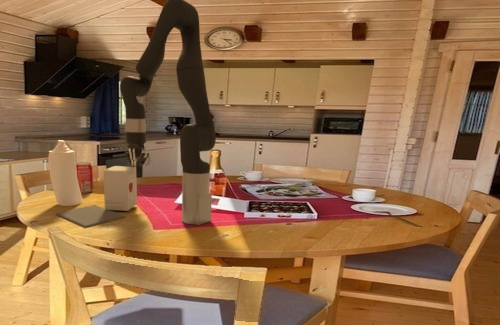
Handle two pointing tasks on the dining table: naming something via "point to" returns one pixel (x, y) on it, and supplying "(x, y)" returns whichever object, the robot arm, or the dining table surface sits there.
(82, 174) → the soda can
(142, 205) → the dining table surface
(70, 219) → the mat
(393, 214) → the dining table surface
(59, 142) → the white bottle
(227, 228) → the dining table surface
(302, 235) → the dining table surface
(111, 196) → the supplement box
